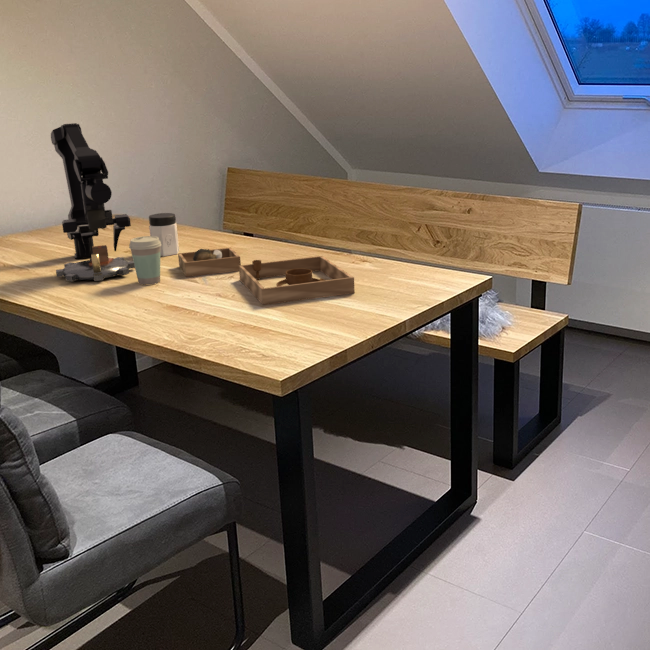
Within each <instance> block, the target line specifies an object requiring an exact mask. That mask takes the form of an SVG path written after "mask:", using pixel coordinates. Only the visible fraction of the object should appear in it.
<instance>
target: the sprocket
mask: <svg viewBox="0 0 650 650" xmlns="http://www.w3.org/2000/svg"><path fill="white" fill-rule="evenodd" d="M108 258H109V261H107V262H100V260H99V254H91V257H90V258H89V260H82V261H78V262H70V261H69V262H67V263H65V264H64V263H63V266H64V267H63V268H61V269H56V270H55V274H56V277H57V278H58V277H64V278H65V281H67V282H75V281H81V280H82V281H84V280H85V281H87V280H89V281H90V280H94V282H98V281H104V279H106V278H111V277H117V276H126V275H128V274H130V269H135V266H134V262H133V260H132V261H131V260H130V261H126V260H125V257H119V256H117V257H108Z"/></svg>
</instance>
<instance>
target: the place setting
mask: <svg viewBox="0 0 650 650" xmlns="http://www.w3.org/2000/svg"><path fill="white" fill-rule="evenodd" d="M262 263H263V262H262V260H261V259H255V260H252V262H251V264H253V270H254V271H257V272H256V278H257V279H256V280H257V281H261V278H260V275H259V272H258V271H260V270H261V268H262ZM284 276H285V279H281V280H279V281H278V282H276V285H275V286H276V287H277V286H285V285H293V284H301V283H309V282H317V281H325V280H326V279H324V278H316V277H313V272H312V270H310V269H305V268H297V269H290V270H288V271H286V272H285V275H284Z"/></svg>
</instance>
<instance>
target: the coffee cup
mask: <svg viewBox="0 0 650 650" xmlns="http://www.w3.org/2000/svg"><path fill="white" fill-rule="evenodd" d="M128 246H129V247H128V248H129V249H130V252H131V256H132V261H133V262H134V266H135V268H134V269H135V273H136V278H137V282H138V284H139V285H141V284H144V285H143V286H146V285H145V284H152V285H155V283H156V284H159V283H160V282H161V256H160V246H161V242H160V241H159V238H158V237H155V236H150V235H146V236H145V235H144V236H137V237H134V238H131V239H130V241H129V245H128ZM158 282H159V283H158Z"/></svg>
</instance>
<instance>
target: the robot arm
mask: <svg viewBox="0 0 650 650" xmlns="http://www.w3.org/2000/svg"><path fill="white" fill-rule="evenodd" d="M50 140H51V144H52V145H53V147H54V151H55V152H56V153H57V154H58V155H59V157H60V158H61V159H62V164H63V167H64V168H63V170H64V174H65V178H66V184H67V189H68V195H69V199H70V205H71V206H70V208H69V213H68V215H67V218H68V219H63V220H62V222H61V224H62V231H63V233H64V234H66V235H67V238H68V239H69V240H70V241H71V240H73V243H74V251H75V253H74V259H76V260H79V259H80V258H81V259H88V258H89V259H90V258H92V257H91V254H93V249H92V247H93V246H95V245H94V244H95V243H94V237H98V236H99V229H102V230H103V229H107V227H108V226H113V227H112V228H113V231H112V233H113V248H114V249H113V251H114V252H117V249H118V248H117V247H118V242H119V238H120V235H121V233H122V231H125V230H126V227H127V228H128V227H129V228H130V227H131V226H132V225H131V224H132V223H131V218H130V216H129V215H128V214H127V213H123V214H122V213H121V214H115V215H114V217H113V214H112V213H113V210H112V209H106V208H105V207H106V206H105V204H107V202H109V201H110V199H112V195H113V194H112V190H111V186H109V185H108V184H107V183H104V180H106V179H109V171H108V168H107V164H106V162H105V160H103V157H101V156H100V154H99V153H98V151H97V150H95V149H93V148H90V145H89V144H88V142H87V141H86V139H85V137H84V134H83V133H82V128H81V125H80V124H79V123H73V122H72V123H63V124H61V125H60V126H58V127H57V128H54V129H52V131H51V133H50Z"/></svg>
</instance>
